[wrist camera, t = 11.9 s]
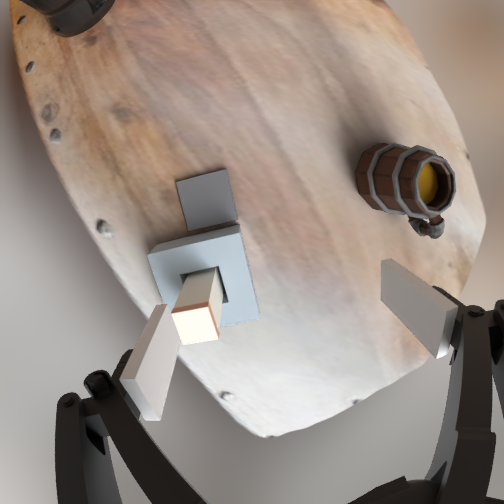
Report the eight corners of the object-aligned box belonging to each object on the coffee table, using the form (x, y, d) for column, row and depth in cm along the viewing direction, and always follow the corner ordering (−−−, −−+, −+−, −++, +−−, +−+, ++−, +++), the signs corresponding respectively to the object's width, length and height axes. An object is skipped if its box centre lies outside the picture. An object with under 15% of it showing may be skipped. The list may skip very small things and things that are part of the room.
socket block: (157, 244, 44) (146, 254, 38) (239, 224, 44) (239, 232, 38) (182, 316, 48) (176, 334, 42) (257, 301, 48) (260, 319, 42)
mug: (343, 163, 42) (389, 162, 27) (395, 134, 40) (449, 127, 26) (379, 242, 46) (427, 270, 32) (425, 210, 45) (479, 227, 30)
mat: (177, 181, 41) (175, 182, 40) (226, 169, 41) (226, 169, 40) (189, 229, 44) (188, 231, 43) (238, 218, 44) (238, 219, 43)
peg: (189, 270, 43) (170, 313, 29) (216, 264, 43) (207, 306, 29) (197, 295, 44) (183, 345, 31) (223, 289, 44) (218, 339, 31)
